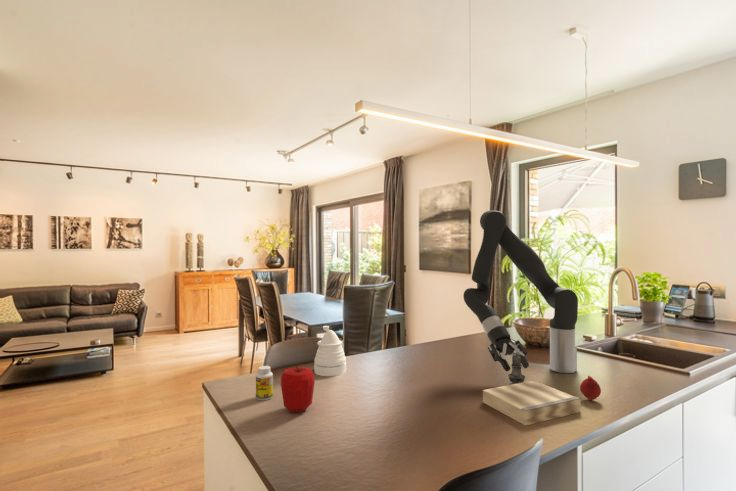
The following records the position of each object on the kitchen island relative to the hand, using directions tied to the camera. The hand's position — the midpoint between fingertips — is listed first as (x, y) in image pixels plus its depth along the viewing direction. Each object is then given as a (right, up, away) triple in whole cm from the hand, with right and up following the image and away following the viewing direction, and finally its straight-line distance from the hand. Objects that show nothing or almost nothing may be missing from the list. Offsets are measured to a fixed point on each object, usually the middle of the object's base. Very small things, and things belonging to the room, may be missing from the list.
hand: (517, 368), depth 142 cm
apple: (-76, -7, -19) cm, 78 cm away
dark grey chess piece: (0, -7, +1) cm, 7 cm away
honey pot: (-69, -7, +19) cm, 72 cm away
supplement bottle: (-89, -7, -9) cm, 89 cm away
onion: (+19, -6, -13) cm, 24 cm away
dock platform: (-3, -6, -18) cm, 19 cm away
